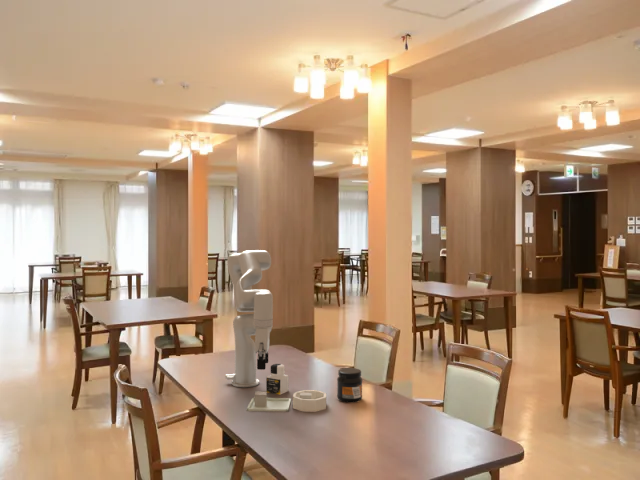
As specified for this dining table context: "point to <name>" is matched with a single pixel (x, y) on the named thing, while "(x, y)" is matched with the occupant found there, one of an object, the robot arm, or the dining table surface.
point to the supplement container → (349, 385)
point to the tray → (271, 405)
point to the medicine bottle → (277, 380)
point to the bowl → (310, 401)
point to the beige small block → (260, 399)
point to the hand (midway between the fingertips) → (262, 366)
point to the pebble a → (305, 395)
